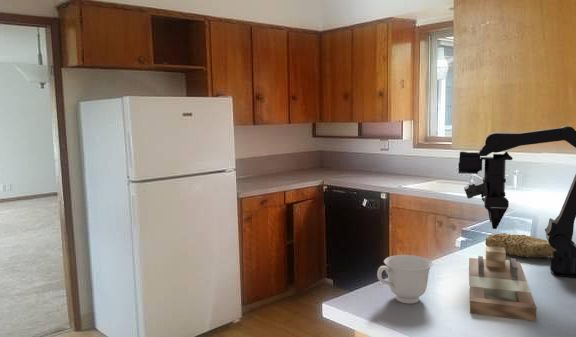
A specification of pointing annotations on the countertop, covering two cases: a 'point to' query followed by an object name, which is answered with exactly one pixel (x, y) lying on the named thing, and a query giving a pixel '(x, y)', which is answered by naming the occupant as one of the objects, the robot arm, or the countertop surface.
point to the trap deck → (500, 290)
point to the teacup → (406, 276)
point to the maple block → (495, 257)
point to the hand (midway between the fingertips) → (493, 225)
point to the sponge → (520, 245)
